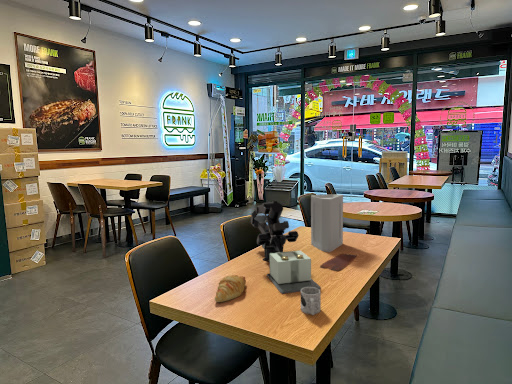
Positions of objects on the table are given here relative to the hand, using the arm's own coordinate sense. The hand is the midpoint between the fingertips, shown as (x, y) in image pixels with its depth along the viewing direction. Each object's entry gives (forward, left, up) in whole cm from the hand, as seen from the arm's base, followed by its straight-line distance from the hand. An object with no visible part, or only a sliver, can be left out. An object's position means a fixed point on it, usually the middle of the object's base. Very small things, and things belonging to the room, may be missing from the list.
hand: (281, 254), depth 152 cm
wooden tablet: (+18, +25, -8) cm, 32 cm away
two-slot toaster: (+8, -7, -8) cm, 13 cm away
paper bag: (+1, +46, -8) cm, 47 cm away
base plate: (+10, -9, -8) cm, 15 cm away
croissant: (-5, -31, -8) cm, 32 cm away
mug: (+28, -29, -8) cm, 41 cm away
